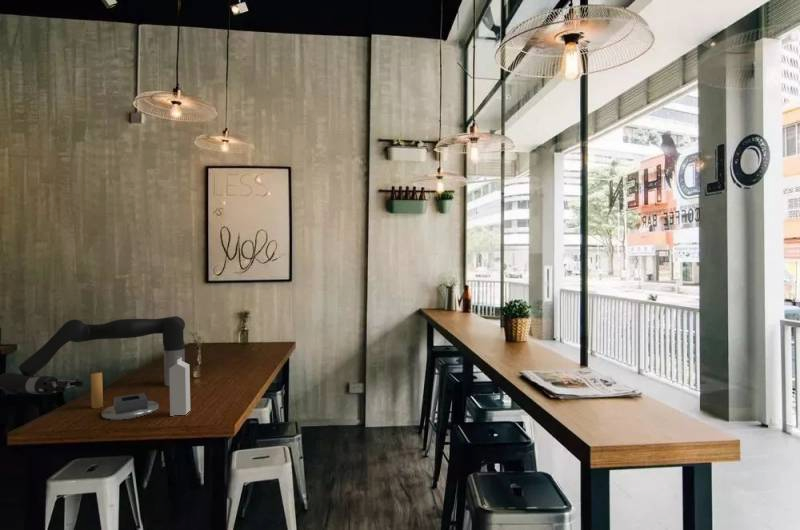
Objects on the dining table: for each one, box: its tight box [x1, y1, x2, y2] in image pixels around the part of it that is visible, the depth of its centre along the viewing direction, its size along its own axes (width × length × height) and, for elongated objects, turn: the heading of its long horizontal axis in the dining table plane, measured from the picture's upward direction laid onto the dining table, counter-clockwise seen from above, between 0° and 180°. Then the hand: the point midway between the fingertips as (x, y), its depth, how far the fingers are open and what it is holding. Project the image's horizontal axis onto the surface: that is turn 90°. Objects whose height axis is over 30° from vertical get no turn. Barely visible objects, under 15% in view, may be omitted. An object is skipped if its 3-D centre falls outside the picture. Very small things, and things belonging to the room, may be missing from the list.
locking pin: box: [90, 372, 104, 409], centre depth 199 cm, size 4×4×14 cm
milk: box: [169, 357, 191, 417], centre depth 188 cm, size 6×6×22 cm
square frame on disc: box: [101, 392, 159, 421], centre depth 192 cm, size 20×20×6 cm
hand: (74, 386), depth 201 cm, fingers open, 8 cm apart
